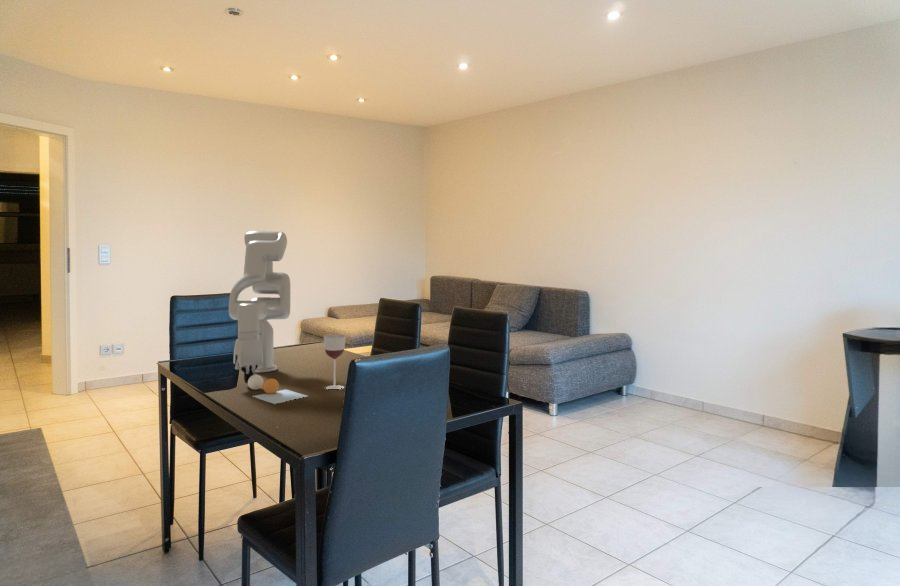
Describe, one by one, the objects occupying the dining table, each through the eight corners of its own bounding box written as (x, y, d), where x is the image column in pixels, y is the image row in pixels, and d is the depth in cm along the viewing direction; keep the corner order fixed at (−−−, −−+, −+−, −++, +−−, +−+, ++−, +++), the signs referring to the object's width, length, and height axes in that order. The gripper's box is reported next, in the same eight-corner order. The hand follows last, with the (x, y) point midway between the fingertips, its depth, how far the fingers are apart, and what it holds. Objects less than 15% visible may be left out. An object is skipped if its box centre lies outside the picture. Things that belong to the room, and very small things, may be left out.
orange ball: (259, 379, 211) (267, 380, 208) (272, 377, 216) (281, 377, 212) (260, 395, 211) (269, 395, 208) (274, 392, 216) (282, 392, 212)
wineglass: (349, 386, 226) (349, 335, 224) (337, 391, 218) (338, 338, 216) (331, 384, 228) (331, 333, 227) (319, 389, 220) (319, 337, 219)
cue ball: (250, 375, 214) (253, 389, 213) (263, 372, 218) (267, 386, 217) (243, 377, 218) (247, 392, 217) (257, 374, 222) (261, 388, 221)
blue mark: (252, 396, 207) (252, 396, 207) (285, 389, 218) (285, 389, 218) (274, 404, 198) (274, 403, 198) (308, 396, 209) (308, 396, 209)
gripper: (260, 332, 228) (260, 378, 230) (224, 336, 217) (225, 384, 218) (271, 334, 223) (271, 381, 225) (235, 338, 212) (236, 388, 213)
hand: (248, 382), depth 221 cm, fingers closed
